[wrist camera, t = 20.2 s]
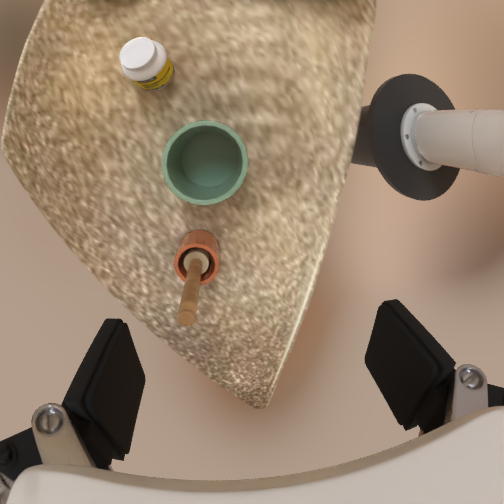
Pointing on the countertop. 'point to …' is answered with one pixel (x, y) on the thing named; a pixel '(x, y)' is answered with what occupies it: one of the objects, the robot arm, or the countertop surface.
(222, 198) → the tumbler
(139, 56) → the supplement bottle
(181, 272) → the holder
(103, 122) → the countertop surface
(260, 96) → the countertop surface
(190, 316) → the brush
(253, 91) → the countertop surface
